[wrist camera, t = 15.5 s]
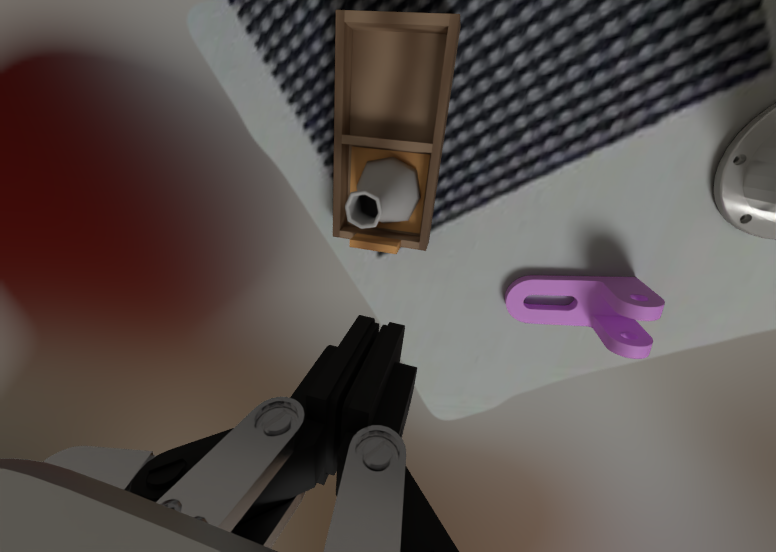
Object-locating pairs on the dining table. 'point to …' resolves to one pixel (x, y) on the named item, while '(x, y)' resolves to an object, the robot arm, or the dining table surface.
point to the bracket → (592, 308)
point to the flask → (383, 194)
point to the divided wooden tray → (391, 111)
